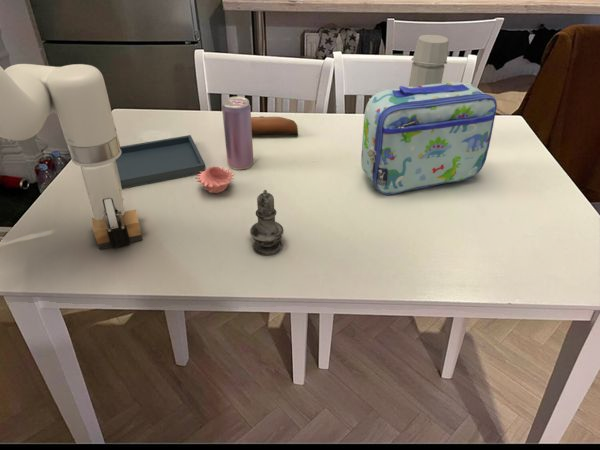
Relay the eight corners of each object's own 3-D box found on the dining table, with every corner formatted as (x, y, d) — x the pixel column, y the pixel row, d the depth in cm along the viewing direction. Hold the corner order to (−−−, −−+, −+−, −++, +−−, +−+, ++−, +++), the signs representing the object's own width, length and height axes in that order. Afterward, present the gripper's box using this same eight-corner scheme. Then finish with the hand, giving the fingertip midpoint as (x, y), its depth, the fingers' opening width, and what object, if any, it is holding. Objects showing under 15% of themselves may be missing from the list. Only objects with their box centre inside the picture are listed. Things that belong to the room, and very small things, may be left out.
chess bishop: (290, 242, 84) (289, 186, 77) (272, 260, 80) (270, 203, 73) (263, 232, 86) (260, 176, 79) (244, 249, 82) (239, 193, 75)
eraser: (99, 249, 82) (93, 231, 79) (97, 235, 85) (92, 218, 82) (142, 239, 84) (138, 222, 82) (139, 226, 87) (135, 209, 85)
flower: (243, 189, 98) (241, 166, 94) (215, 206, 93) (212, 182, 90) (217, 177, 102) (215, 154, 98) (189, 192, 97) (185, 169, 94)
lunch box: (370, 201, 95) (382, 103, 82) (353, 174, 103) (361, 82, 90) (484, 185, 100) (511, 91, 87) (458, 161, 108) (481, 72, 96)
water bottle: (429, 151, 112) (450, 45, 97) (396, 146, 114) (412, 41, 99) (432, 135, 119) (453, 33, 104) (401, 131, 121) (417, 30, 106)
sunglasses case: (296, 121, 124) (296, 106, 118) (297, 144, 121) (298, 129, 115) (228, 122, 123) (225, 107, 116) (228, 145, 120) (225, 131, 114)
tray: (104, 192, 97) (101, 183, 95) (99, 158, 108) (97, 150, 107) (206, 172, 103) (205, 164, 102) (191, 142, 115) (190, 134, 113)
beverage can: (250, 171, 104) (246, 108, 95) (224, 169, 104) (217, 106, 95) (256, 158, 108) (252, 97, 99) (231, 156, 109) (226, 95, 100)
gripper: (68, 128, 78) (95, 216, 89) (70, 177, 66) (101, 271, 77) (114, 122, 81) (135, 208, 92) (124, 167, 68) (147, 260, 79)
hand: (119, 236), depth 84 cm, fingers closed on eraser, 4 cm apart
